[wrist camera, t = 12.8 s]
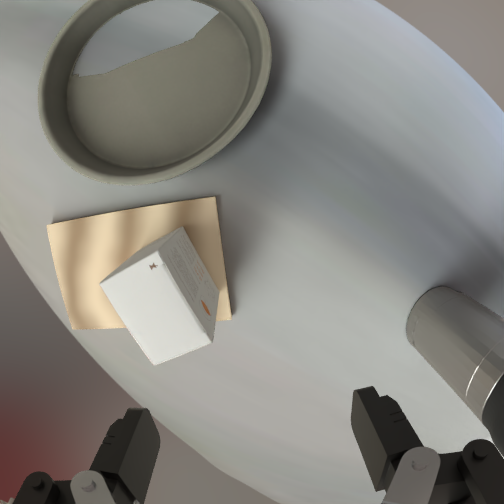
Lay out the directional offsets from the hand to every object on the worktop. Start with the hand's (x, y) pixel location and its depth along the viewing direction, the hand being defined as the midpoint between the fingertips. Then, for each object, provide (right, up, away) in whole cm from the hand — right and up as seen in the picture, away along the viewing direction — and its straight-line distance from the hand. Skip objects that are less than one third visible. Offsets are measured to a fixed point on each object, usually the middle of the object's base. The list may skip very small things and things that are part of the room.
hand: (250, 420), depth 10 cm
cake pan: (-11, +25, +17) cm, 32 cm away
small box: (-7, +4, +21) cm, 23 cm away
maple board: (-13, +5, +21) cm, 25 cm away
